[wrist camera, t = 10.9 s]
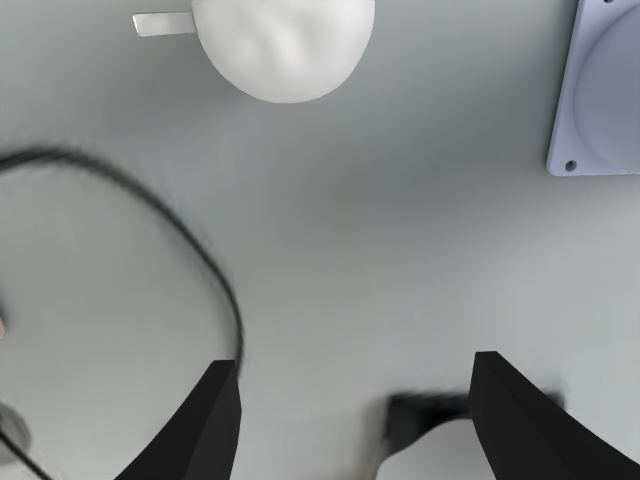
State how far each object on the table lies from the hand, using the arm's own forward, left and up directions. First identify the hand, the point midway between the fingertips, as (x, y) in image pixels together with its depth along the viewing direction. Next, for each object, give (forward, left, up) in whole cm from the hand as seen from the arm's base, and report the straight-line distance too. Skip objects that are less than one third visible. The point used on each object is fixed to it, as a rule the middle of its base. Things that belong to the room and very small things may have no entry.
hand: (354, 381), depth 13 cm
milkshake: (+2, -10, -11) cm, 15 cm away
